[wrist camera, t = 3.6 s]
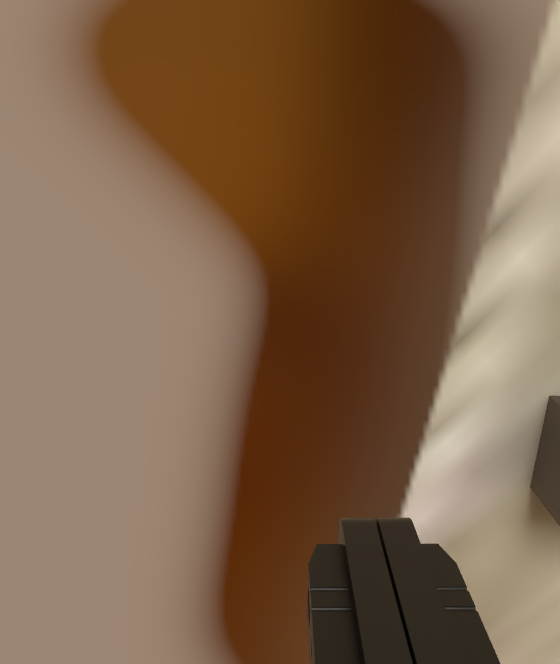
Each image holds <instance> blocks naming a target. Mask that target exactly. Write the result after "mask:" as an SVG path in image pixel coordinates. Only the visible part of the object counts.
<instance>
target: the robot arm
mask: <svg viewBox="0 0 560 664" xmlns="http://www.w3.org/2000/svg"><path fill="white" fill-rule="evenodd" d="M338 528H339V529H338V544H317V546H316V548H315V550H314V552H313V555H312V557H311V559H310V562H309V564H308V566H309V567H308V635H309V653H310V664H500V662H499V660H498V657H497V655H496V653H495V650H494V648H493V646H492V644H491V641H490V639H489V637H488V634H487V632H486V630H485V628H484V625H483V623H482V621H481V618H480V616H479V614H478V612H477V611H476V610H475V605H474V602H473V600H472V598H471V596H470V593H469V591H467V586H466V584H465V582H464V580H463V577H462V575H461V573H460V570H459V568H458V566H457V564H456V562H455V561H454V560H453V559H452V558H451V557H450V556H449V555H448V554H447V553H446V552H445V551H444V550H443V549H442V548H441V547H440V546H439V545H438V544H420V541H419V538H418V536H417V533H416V530H415V527H414V525H413V522H412V520H411V519H410V518H375V520H374V518H340V519H339V527H338Z"/></svg>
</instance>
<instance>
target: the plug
mask: <svg viewBox="0 0 560 664" xmlns="http://www.w3.org/2000/svg"><path fill="white" fill-rule="evenodd" d="M530 487H531V488H532V490H533V491H534V492H535V494H536V495H537V496H538V498H539V499H540V500H541V502H542V503H543V504H544V506H545V507H546V508H547V510H548V511H549V512H550V514H551V515H552V516H553V518H554V519H555V520H556V522H557V523H558V524H559V526H560V396H550V397H549V402H548V407H547V411H546V416H545V421H544V425H543V430H542V435H541V439H540V444H539V449H538V454H537V458H536V463H535V468H534V472H533V477H532V482H531V486H530Z"/></svg>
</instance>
